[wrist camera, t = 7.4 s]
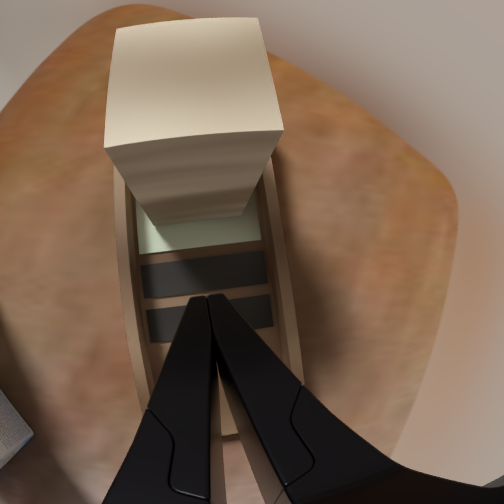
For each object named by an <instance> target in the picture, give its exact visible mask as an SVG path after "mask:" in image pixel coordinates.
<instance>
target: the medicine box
mask: <svg viewBox="0 0 504 504" xmlns="http://www.w3.org/2000/svg"><path fill="white" fill-rule="evenodd" d="M33 435H34V433H33V430H32V429H31V428H30V427H29V426H28V424H27V423H26V422H25V421H24V419H23V418H22V417H21V415H20V414H19V413H18V412H17V410H16V409H15V408H14V406H13V405H12V404H11V403H10V401H9V400H8V399H7V397H6V396H5V394H4V393H3V392H2V390H1V389H0V469H1V468H2V467H3V466H4V465H5V464H6V463H7V462H8V461H9V460H10V459H11V458H12V457H13V456H14V455H15V454H16V453H17V452H18V451H19V450H20V449H21V448H22V447H23V446H24V445H25V444H26V443H27V442H28V441H29V440H30V439H31V438H32V437H33Z"/></svg>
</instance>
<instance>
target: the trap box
mask: <svg viewBox="0 0 504 504" xmlns="http://www.w3.org/2000/svg"><path fill="white" fill-rule="evenodd" d="M114 211H115V232H116V247H117V260H118V271H119V281H120V290H121V298H122V306H123V314H124V321H125V327H126V334H127V340H128V346H129V352H130V358H131V363H132V368H133V373H134V378H135V383H136V388H137V393H138V397H139V402H140V406H141V410H142V414H143V415H144V412H145V410H146V409H148V408H147V404H148V402H149V399H150V396H151V394H152V391H153V389H154V386H155V383H156V381H157V378H158V375H159V373H160V370H161V368H162V365H163V363H164V360H165V357H166V355H167V352H168V350H169V347H170V345H171V342H172V340H173V337H174V335H175V332H176V330H177V327H178V325H179V322H180V320H181V317H182V315H183V313H184V310H185V308H186V305H187V303H188V300H189V299H190V298H191V297H194V296H201V295H205V296H206V298H207V296H208V295H209V294H217V293H223V294H224V295H225V296H226V297H227V298H228V300H229V301H230V302H231V303H232V304H233V305H234V307H235V308H236V309H237V310H238V311H239V312H240V314H241V315H242V316H243V317H244V318H245V319H246V321H247V322H248V323H249V324H250V325H251V326H252V328H253V329H254V330H255V331H256V332H257V333H258V334H259V336H260V337H261V338H262V339H263V340H264V341H265V342H266V343H267V345H268V346H269V347H270V348H271V349H272V350H273V351H274V352H275V354H276V355H277V356H278V357H279V358H280V359H281V360H282V361H283V362H284V364H285V365H286V366H287V367H288V368H289V369H290V370H291V371H292V372H293V374H294V375H295V376H296V377H297V378H298V379H299V380H300V381H301V382H302V385H305V383H304V375H303V367H302V359H301V351H300V343H299V335H298V328H297V320H296V313H295V306H294V299H293V291H292V285H291V278H290V271H289V264H288V257H287V251H286V244H285V238H284V232H283V225H282V219H281V213H280V207H279V201H278V195H277V189H276V183H275V177H274V171H273V166H272V160H271V156H270V158H269V160H268V162H267V164H266V166H265V168H264V170H263V172H262V174H261V176H260V178H259V180H258V182H257V184H256V186H255V188H254V190H253V192H252V194H251V196H250V199H249V201H248V203H247V205H246V207H245V209H244V211H243V213H242V215H241V216H236V217H226V218H217V219H208V220H199V221H191V222H182V223H174V224H166V225H158V226H153V224H152V223H151V221H150V220H149V218H148V217H147V215H146V214H145V212H144V211H143V209H142V207H141V206H140V204H139V203H138V201H137V200H136V198H135V197H134V195H133V194H132V192H131V190H130V189H129V187H128V186H127V184H126V183H125V181H124V179H123V178H122V176H121V175H120V173H119V171H118V170H117V168H116V167H115V165H114ZM217 369H218V368H217ZM218 376H219V372H218ZM219 393H220V413H221V431H222V436H223V435H229V434H236V433H238V431H237V428H236V425H235V422H234V419H233V416H232V413H231V411H230V408H229V405H228V402H227V399H226V396H225V393H224V390H223V387H222V384H221V380H220V377H219Z"/></svg>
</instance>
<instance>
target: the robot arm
mask: <svg viewBox="0 0 504 504" xmlns="http://www.w3.org/2000/svg"><path fill="white" fill-rule="evenodd" d="M217 368H218V369H217ZM218 372H219V376H218ZM219 377H220V380H221V384H222V387H223V390H224V393H225V396H226V399H227V402H228V405H229V408H230V411H231V413H232V416H233V419H234V422H235V425H236V428H237V431H238V433H239V436H240V439H241V442H242V445H243V447H244V450H245V453H246V455H247V458H248V461H249V463H250V466H251V469H252V471H253V474H254V476H255V479H256V482H257V484H258V487H259V489H260V492H261V494H262V497H263V499H264V502H265V504H504V475H503V476H501V477H500V478H498V479H496V480H494V481H492V482H490V483H488V484H486V485H484V486H482V487H481V486H476V485H471V484H466V483H461V482H457V481H452V480H448V479H444V478H440V477H436V476H433V475H429V474H425V473H422V472H418V471H415V470H412V469H409V468H407V467H404V466H402V465H400V464H398V463H396V462H395V461H393V460H392V459H390V458H389V457H387V456H386V455H384V454H383V453H382V452H380V451H379V450H378V449H376V448H375V447H374V446H372V445H371V444H370V443H368V442H367V441H366V440H365V439H363V438H362V437H361V436H359V435H358V434H357V433H356V432H354V431H353V430H352V429H350V428H349V427H348V426H347V425H345V424H344V423H343V422H342V421H341V420H340V419H338V418H337V417H336V416H335V415H334V414H332V413H331V412H330V411H329V410H328V409H327V408H326V407H325V406H324V405H323V404H322V403H321V402H320V401H319V400H318V399H317V398H316V397H315V396H314V395H313V394H312V393H311V392H310V391H309V390H308V389H307V387H306V386H305V385H302V382H301V381H300V380H299V379H298V378H297V377H296V376H295V375H294V374H293V372H292V371H291V370H290V369H289V368H288V367H287V366H286V365H285V364H284V362H283V361H282V360H281V359H280V358H279V357H278V356H277V355H276V354H275V352H274V351H273V350H272V349H271V348H270V347H269V346H268V345H267V343H266V342H265V341H264V340H263V339H262V338H261V337H260V336H259V334H258V333H257V332H256V331H255V330H254V329H253V328H252V326H251V325H250V324H249V323H248V322H247V321H246V319H245V318H244V317H243V316H242V315H241V314H240V312H239V311H238V310H237V309H236V308H235V307H234V305H233V304H232V303H231V302H230V301H229V300H228V298H227V297H226V296H225V295H224V294H223V293H217V294H209V295H208V296H207V298H206V296H205V295H201V296H194V297H191V298H190V299H189V300H188V303H187V305H186V308H185V310H184V313H183V315H182V317H181V320H180V322H179V325H178V327H177V330H176V332H175V335H174V337H173V340H172V342H171V345H170V347H169V350H168V352H167V355H166V357H165V360H164V363H163V365H162V368H161V370H160V373H159V375H158V378H157V381H156V383H155V386H154V389H153V391H152V394H151V396H150V399H149V402H148V404H147V408H148V409H146V410H145V412H144V415H143V418H142V420H141V423H140V425H139V428H138V430H137V433H136V435H135V438H134V440H133V443H132V445H131V447H130V449H129V451H128V453H127V455H126V457H125V459H124V461H123V463H122V465H121V467H120V469H119V471H118V473H117V475H116V477H115V479H114V481H113V483H112V485H111V487H110V488H109V490H108V492H107V494H106V496H105V498H104V500H103V502H102V504H227V502H226V490H225V477H224V463H223V448H222V431H221V413H220V393H219Z"/></svg>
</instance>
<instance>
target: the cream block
mask: <svg viewBox="0 0 504 504" xmlns="http://www.w3.org/2000/svg"><path fill="white" fill-rule="evenodd" d="M283 131H284V128H283V123H282V119H281V114H280V109H279V105H278V100H277V96H276V91H275V87H274V83H273V78H272V74H271V70H270V66H269V61H268V57H267V53H266V49H265V46H264V41H263V38H262V34H261V29H260V26H259V22H258V18H203V19H188V20H176V21H166V22H158V23H150V24H143V25H137V26H130V27H125V28H119V29H117V30H116V35H115V41H114V48H113V54H112V61H111V69H110V77H109V86H108V96H107V107H106V120H105V138H104V149H105V150H106V152H107V154H108V155H109V157H110V158H111V160H112V162H113V163H114V165H115V167H116V168H117V170H118V171H119V173H120V175H121V176H122V178H123V179H124V181H125V183H126V184H127V186H128V187H129V189H130V190H131V192H132V194H133V195H134V197H135V198H136V200H137V201H138V203H139V204H140V206H141V207H142V209H143V211H144V212H145V214H146V215H147V217H148V218H149V220H150V221H151V223H152V224H153V226H158V225H166V224H174V223H182V222H191V221H199V220H208V219H217V218H226V217H236V216H241V215H242V213H243V211H244V209H245V207H246V205H247V203H248V201H249V199H250V196H251V194H252V192H253V190H254V188H255V186H256V184H257V182H258V180H259V178H260V176H261V174H262V172H263V170H264V168H265V166H266V164H267V162H268V160H269V158H270V156H271V154H272V152H273V150H274V149H275V147H276V145H277V143H278V141H279V139H280V137H281V135H282V133H283Z"/></svg>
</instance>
